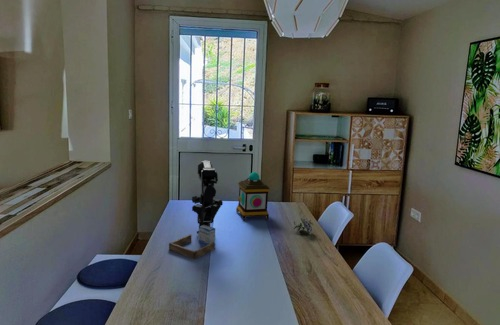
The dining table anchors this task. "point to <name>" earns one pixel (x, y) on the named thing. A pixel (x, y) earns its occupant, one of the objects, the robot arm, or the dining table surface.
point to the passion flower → (304, 226)
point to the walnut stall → (192, 254)
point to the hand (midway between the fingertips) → (207, 220)
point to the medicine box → (206, 234)
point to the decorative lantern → (253, 197)
